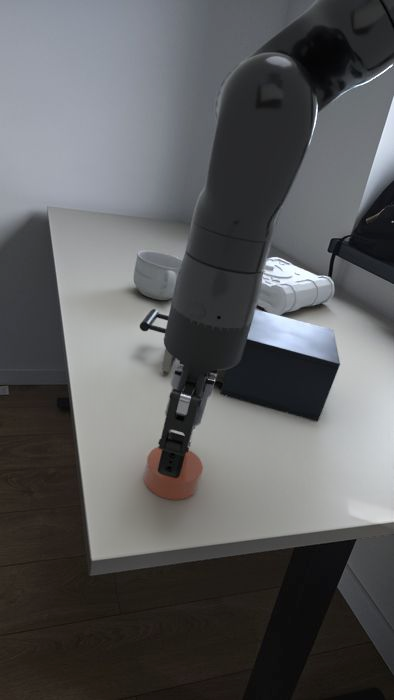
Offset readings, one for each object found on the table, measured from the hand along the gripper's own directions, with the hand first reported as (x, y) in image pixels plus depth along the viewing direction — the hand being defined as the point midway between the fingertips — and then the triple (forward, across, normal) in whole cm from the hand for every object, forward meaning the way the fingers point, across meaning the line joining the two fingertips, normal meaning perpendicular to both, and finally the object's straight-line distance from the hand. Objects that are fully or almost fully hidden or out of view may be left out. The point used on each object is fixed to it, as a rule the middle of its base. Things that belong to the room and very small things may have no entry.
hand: (177, 448), depth 52 cm
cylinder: (+4, 0, 0) cm, 4 cm away
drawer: (+3, +27, +2) cm, 28 cm away
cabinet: (+4, +27, -10) cm, 29 cm away
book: (+4, +74, -10) cm, 75 cm away
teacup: (+4, +52, +15) cm, 54 cm away
